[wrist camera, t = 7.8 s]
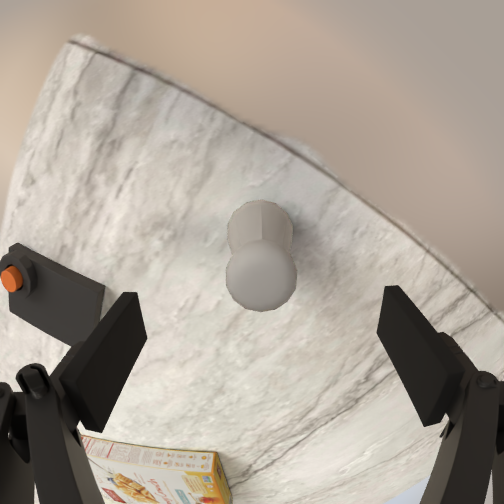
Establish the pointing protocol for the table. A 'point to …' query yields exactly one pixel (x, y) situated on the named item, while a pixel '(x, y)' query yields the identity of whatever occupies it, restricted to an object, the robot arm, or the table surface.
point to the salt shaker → (260, 256)
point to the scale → (53, 296)
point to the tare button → (11, 279)
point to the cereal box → (156, 474)
